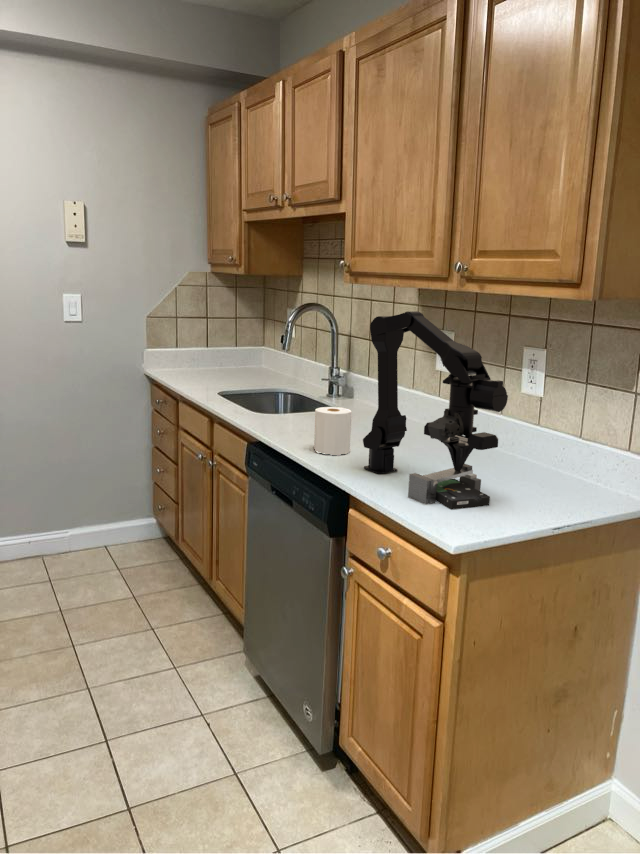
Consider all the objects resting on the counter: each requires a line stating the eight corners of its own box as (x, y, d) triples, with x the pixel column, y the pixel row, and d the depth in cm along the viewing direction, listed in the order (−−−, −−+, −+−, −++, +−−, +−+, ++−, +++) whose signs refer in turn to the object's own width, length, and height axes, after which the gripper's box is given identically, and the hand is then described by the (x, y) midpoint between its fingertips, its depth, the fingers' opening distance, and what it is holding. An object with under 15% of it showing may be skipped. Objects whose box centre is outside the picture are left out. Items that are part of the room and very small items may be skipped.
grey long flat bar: (419, 479, 163) (419, 473, 162) (461, 468, 170) (461, 462, 170) (431, 484, 160) (431, 477, 159) (473, 473, 167) (473, 466, 166)
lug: (458, 488, 171) (460, 472, 171) (464, 486, 173) (466, 471, 172) (474, 493, 167) (475, 477, 167) (480, 492, 169) (481, 476, 168)
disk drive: (490, 508, 159) (453, 488, 173) (491, 496, 159) (454, 477, 172) (451, 512, 155) (416, 491, 169) (452, 500, 155) (417, 480, 168)
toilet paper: (355, 454, 200) (357, 412, 197) (321, 456, 196) (322, 414, 194) (341, 446, 209) (343, 405, 206) (308, 448, 205) (310, 407, 203)
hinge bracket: (407, 496, 163) (408, 473, 162) (416, 494, 165) (418, 472, 164) (426, 504, 158) (428, 481, 157) (436, 502, 160) (438, 479, 159)
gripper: (408, 401, 166) (405, 466, 169) (466, 415, 151) (461, 485, 154) (442, 397, 172) (439, 460, 175) (502, 410, 157) (497, 478, 160)
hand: (457, 470), depth 166 cm, fingers closed, pressing on grey long flat bar
